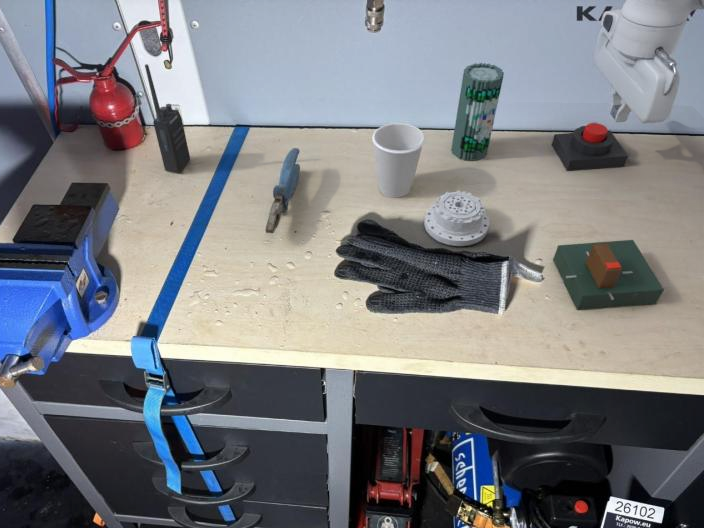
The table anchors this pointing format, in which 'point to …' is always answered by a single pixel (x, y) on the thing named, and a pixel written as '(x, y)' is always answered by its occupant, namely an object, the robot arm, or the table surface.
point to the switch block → (588, 151)
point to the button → (595, 133)
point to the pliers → (284, 189)
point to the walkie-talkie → (169, 133)
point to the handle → (603, 266)
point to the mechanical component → (457, 219)
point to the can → (476, 110)
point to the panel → (629, 288)
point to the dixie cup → (397, 157)
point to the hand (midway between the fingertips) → (617, 117)
